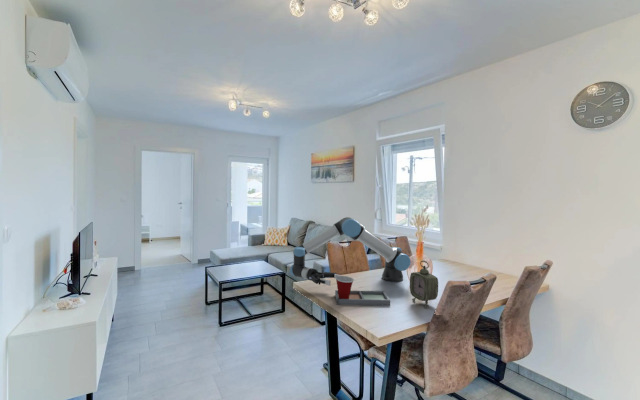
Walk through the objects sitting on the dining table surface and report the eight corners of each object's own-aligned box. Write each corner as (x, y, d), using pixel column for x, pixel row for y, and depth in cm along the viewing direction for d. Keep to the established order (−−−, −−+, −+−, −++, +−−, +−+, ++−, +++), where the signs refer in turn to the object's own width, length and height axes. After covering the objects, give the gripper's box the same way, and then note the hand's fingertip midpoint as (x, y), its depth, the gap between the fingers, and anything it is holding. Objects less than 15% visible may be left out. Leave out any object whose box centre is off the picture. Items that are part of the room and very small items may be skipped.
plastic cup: (351, 302, 171) (351, 281, 171) (332, 300, 174) (333, 279, 174) (355, 296, 181) (355, 276, 181) (337, 294, 185) (338, 274, 184)
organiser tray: (383, 295, 187) (384, 291, 187) (390, 305, 172) (390, 300, 171) (335, 295, 186) (335, 290, 186) (337, 304, 171) (337, 299, 171)
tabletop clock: (409, 300, 180) (410, 258, 179) (421, 298, 183) (423, 257, 182) (425, 309, 166) (427, 264, 166) (439, 307, 170) (440, 263, 169)
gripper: (321, 275, 207) (348, 282, 194) (296, 284, 188) (323, 291, 175) (322, 264, 207) (348, 270, 194) (297, 272, 188) (324, 278, 174)
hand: (336, 280), depth 184 cm, fingers open, 13 cm apart
